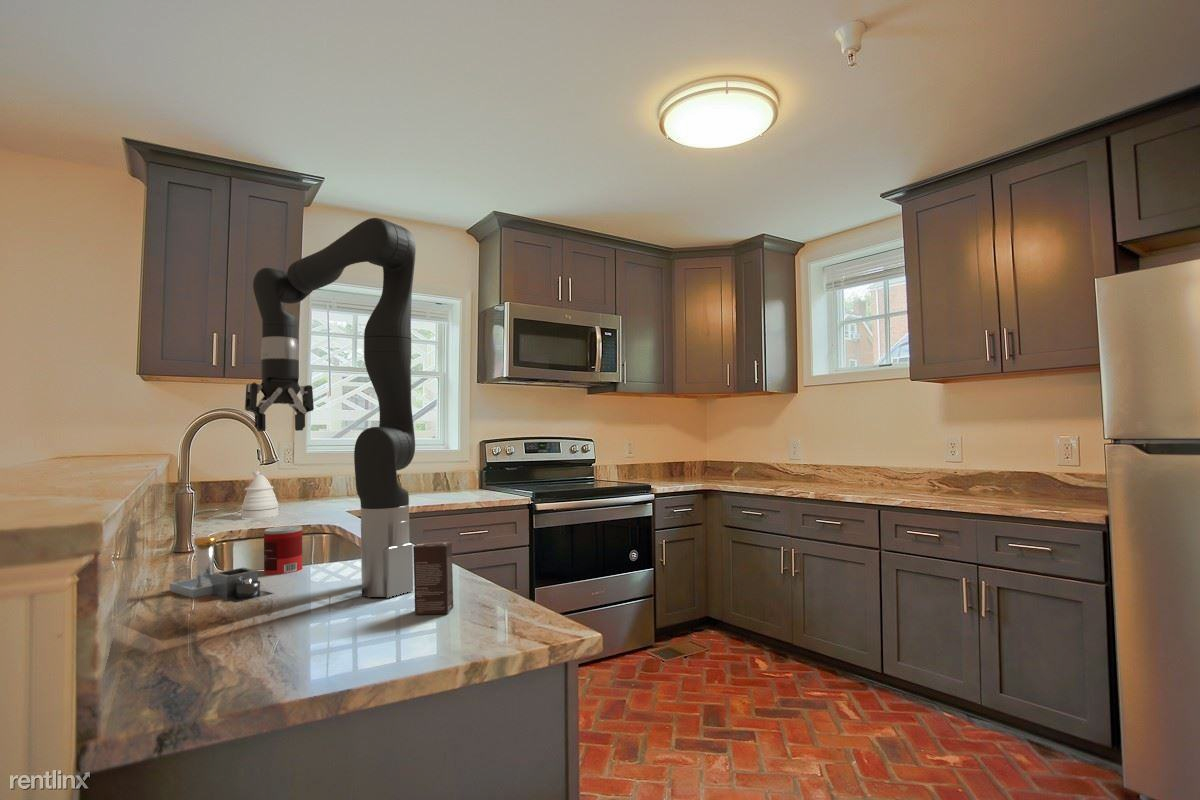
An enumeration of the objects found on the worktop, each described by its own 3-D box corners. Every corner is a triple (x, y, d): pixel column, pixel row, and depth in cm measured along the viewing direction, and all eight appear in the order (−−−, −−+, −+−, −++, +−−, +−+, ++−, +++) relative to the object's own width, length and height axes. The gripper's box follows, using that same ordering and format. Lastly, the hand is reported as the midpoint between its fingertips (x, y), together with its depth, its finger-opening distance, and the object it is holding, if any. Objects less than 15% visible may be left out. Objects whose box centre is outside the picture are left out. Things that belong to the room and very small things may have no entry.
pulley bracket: (273, 601, 121) (273, 572, 121) (236, 610, 116) (235, 580, 116) (245, 593, 127) (245, 566, 128) (208, 602, 122) (208, 573, 122)
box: (454, 607, 114) (452, 540, 114) (447, 614, 109) (446, 545, 110) (420, 608, 114) (419, 541, 114) (413, 615, 109) (412, 546, 110)
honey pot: (233, 519, 242) (233, 473, 243) (260, 514, 254) (260, 470, 255) (260, 520, 238) (259, 472, 239) (286, 515, 251) (285, 470, 252)
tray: (237, 595, 127) (237, 580, 127) (192, 605, 120) (192, 589, 120) (213, 588, 132) (213, 574, 132) (169, 598, 126) (169, 583, 126)
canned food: (308, 572, 146) (308, 524, 146) (292, 580, 138) (292, 530, 138) (275, 573, 145) (274, 526, 146) (257, 582, 137) (257, 531, 138)
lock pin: (219, 593, 127) (219, 537, 127) (199, 597, 124) (199, 540, 124) (210, 590, 129) (211, 535, 129) (190, 594, 126) (190, 538, 126)
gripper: (256, 354, 132) (256, 431, 132) (319, 359, 144) (320, 429, 143) (238, 357, 137) (239, 432, 136) (301, 362, 148) (302, 430, 148)
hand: (280, 430), depth 140 cm, fingers open, 8 cm apart
